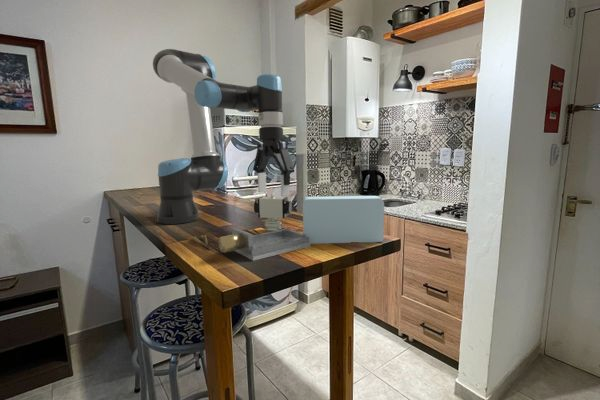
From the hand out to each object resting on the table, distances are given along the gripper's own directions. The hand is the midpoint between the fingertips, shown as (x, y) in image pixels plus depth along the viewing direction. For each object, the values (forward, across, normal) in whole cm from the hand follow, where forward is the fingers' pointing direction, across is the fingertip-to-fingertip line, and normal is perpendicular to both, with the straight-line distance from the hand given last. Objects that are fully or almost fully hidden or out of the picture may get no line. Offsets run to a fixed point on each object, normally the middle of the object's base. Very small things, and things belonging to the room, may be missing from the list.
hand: (273, 193), depth 106 cm
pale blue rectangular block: (+13, +22, +9) cm, 27 cm away
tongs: (+13, 0, -24) cm, 27 cm away
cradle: (+12, +14, -11) cm, 22 cm away
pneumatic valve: (+12, -1, 0) cm, 12 cm away
